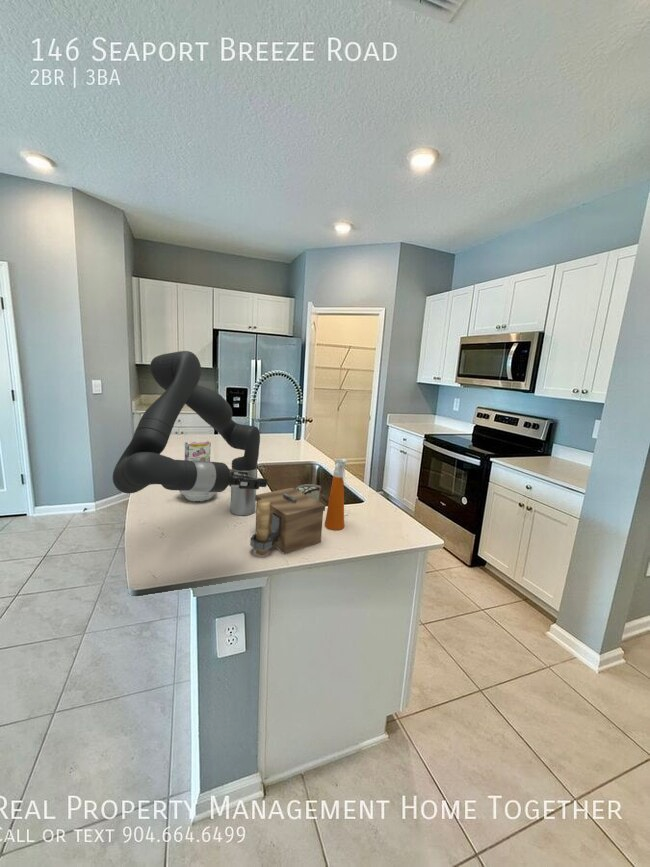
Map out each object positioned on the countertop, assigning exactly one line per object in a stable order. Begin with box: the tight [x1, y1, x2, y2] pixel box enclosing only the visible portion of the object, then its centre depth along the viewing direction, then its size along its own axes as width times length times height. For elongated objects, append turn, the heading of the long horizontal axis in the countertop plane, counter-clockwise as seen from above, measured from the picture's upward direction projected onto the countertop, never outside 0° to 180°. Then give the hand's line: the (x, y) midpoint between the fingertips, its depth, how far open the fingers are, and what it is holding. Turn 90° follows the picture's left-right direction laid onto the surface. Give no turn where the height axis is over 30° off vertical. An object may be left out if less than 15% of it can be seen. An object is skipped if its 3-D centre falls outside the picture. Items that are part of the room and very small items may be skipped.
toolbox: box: [255, 487, 326, 555], centre depth 117 cm, size 19×15×14 cm
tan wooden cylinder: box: [255, 500, 270, 556], centre depth 106 cm, size 4×4×16 cm
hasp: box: [249, 514, 281, 550], centre depth 107 cm, size 7×8×8 cm
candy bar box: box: [184, 440, 212, 462], centre depth 172 cm, size 11×5×16 cm, turn 130°
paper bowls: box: [178, 490, 218, 502], centre depth 145 cm, size 15×15×8 cm
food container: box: [295, 483, 322, 502], centre depth 138 cm, size 12×6×10 cm, turn 141°
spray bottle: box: [324, 458, 348, 531], centre depth 124 cm, size 7×11×26 cm, turn 16°
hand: (256, 479), depth 99 cm, fingers open, 8 cm apart
